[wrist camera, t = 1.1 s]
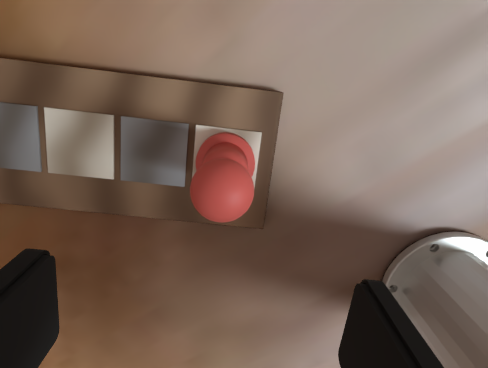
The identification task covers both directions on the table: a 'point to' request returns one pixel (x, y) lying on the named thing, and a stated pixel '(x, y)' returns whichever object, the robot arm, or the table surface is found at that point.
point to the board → (123, 139)
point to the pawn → (223, 177)
